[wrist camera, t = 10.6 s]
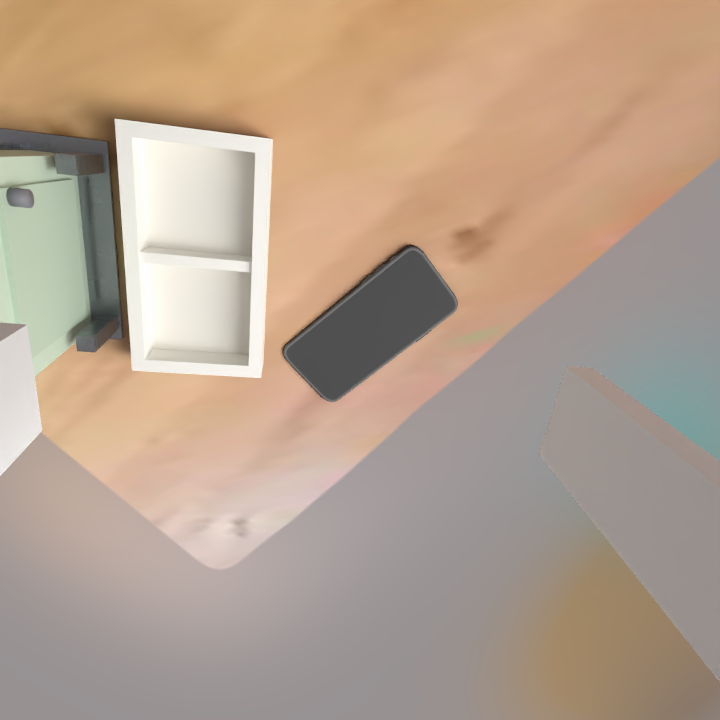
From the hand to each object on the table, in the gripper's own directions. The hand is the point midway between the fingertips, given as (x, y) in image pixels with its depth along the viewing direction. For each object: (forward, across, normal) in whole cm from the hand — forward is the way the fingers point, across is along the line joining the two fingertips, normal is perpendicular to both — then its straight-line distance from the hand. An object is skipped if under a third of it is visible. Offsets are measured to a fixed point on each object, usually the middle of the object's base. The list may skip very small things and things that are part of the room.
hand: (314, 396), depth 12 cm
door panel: (+28, -18, -3) cm, 34 cm away
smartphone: (+29, +6, -8) cm, 31 cm away
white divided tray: (+29, -8, -3) cm, 30 cm away
